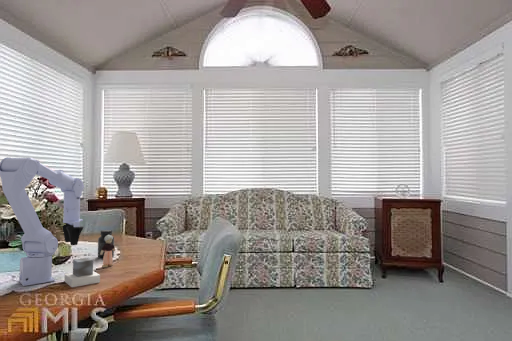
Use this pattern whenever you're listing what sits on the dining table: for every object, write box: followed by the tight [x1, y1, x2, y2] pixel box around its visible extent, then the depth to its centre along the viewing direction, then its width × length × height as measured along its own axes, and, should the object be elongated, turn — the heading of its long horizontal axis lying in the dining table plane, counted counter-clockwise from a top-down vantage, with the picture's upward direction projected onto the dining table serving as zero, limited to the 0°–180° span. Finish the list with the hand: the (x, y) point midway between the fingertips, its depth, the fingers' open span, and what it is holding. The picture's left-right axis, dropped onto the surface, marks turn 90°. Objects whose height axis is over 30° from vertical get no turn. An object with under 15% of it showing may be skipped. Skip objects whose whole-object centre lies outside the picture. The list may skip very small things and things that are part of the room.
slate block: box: [72, 257, 94, 277], centre depth 124 cm, size 5×5×5 cm
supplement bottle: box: [97, 229, 115, 259], centre depth 162 cm, size 7×7×12 cm
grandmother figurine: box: [100, 235, 116, 268], centre depth 146 cm, size 8×4×13 cm, turn 169°
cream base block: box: [63, 270, 101, 288], centre depth 123 cm, size 9×9×3 cm
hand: (71, 243), depth 138 cm, fingers open, 7 cm apart
